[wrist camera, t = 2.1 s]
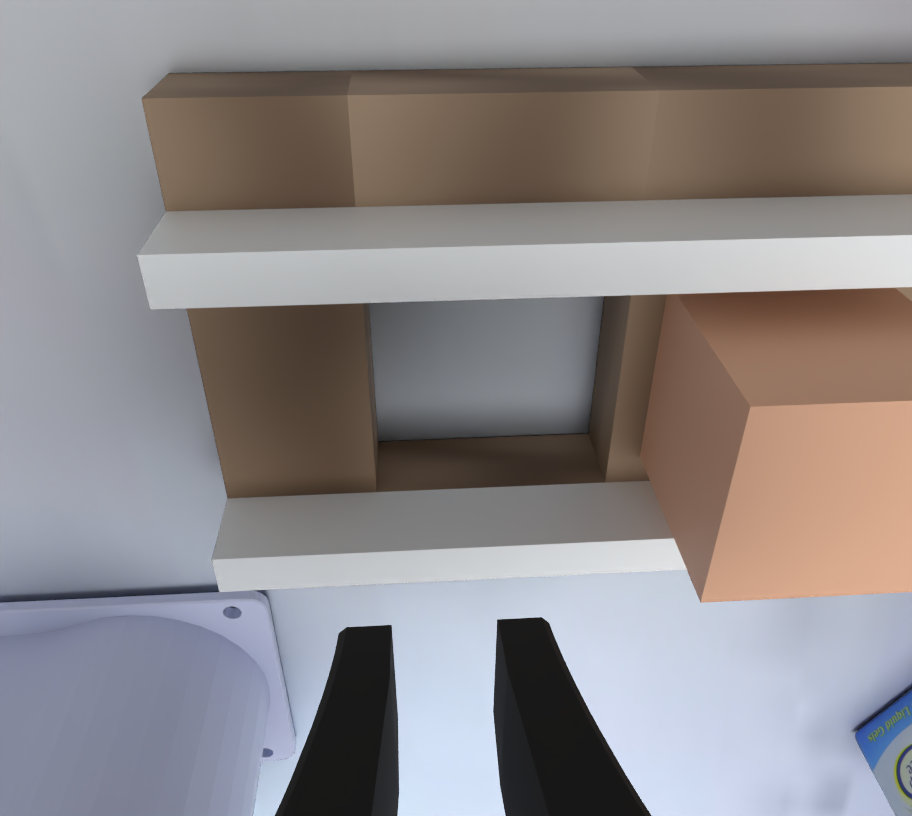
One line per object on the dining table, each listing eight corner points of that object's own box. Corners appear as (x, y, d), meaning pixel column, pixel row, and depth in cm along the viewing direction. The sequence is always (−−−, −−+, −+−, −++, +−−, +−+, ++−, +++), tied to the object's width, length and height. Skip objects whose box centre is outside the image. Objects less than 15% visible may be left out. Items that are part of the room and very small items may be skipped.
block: (639, 457, 19) (700, 602, 15) (668, 282, 16) (750, 406, 12) (824, 449, 19) (929, 591, 15) (882, 276, 16) (1024, 396, 13)
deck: (257, 533, 22) (246, 586, 20) (169, 73, 15) (141, 98, 14) (1115, 494, 23) (1170, 542, 22) (1387, 56, 16) (1497, 77, 15)
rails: (234, 529, 19) (219, 591, 18) (165, 211, 15) (136, 255, 13) (950, 497, 20) (999, 554, 18) (1093, 190, 16) (1175, 228, 14)
